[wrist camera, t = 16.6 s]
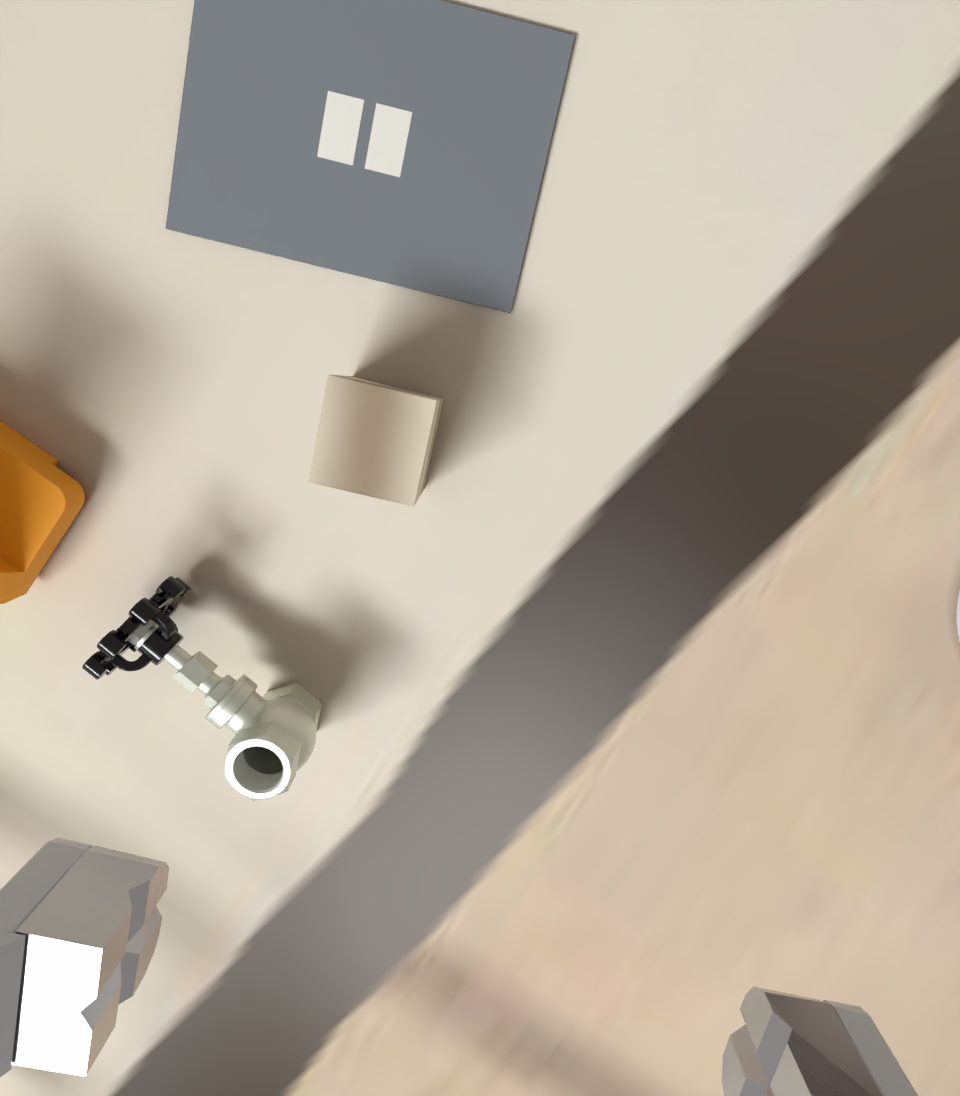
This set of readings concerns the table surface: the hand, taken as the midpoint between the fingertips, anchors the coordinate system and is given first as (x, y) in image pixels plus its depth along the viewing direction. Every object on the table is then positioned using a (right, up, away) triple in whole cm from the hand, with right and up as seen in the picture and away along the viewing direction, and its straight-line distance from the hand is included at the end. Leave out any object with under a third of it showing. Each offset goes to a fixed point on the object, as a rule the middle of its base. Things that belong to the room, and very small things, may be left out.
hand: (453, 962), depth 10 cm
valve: (-14, -1, +32) cm, 35 cm away
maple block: (-5, +12, +29) cm, 32 cm away
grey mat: (-5, +26, +26) cm, 37 cm away
